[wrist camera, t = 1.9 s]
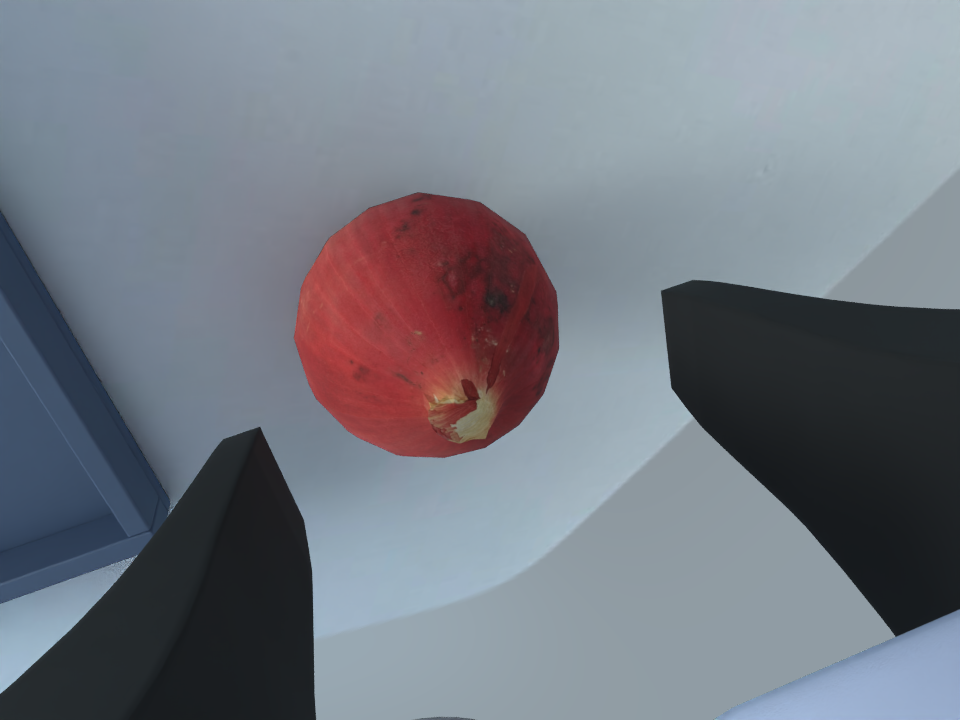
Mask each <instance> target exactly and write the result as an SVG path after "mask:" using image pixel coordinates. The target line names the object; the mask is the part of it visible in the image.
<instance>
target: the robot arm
mask: <svg viewBox="0 0 960 720" xmlns="http://www.w3.org/2000/svg"><path fill="white" fill-rule="evenodd" d="M661 295H662V304H663V314H664V323H665V332H666V342H667V351H668V360H669V369H670V379H671V388H672V389H673V390H674V392H675V393H676V394H677V396H678V397H679V398H680V400H681V401H682V403H683V404H684V405H685V407H686V408H687V409H688V410H689V412H690V413H691V414H692V415H693V417H694V418H695V419H696V420H697V422H698V423H699V424H700V425H701V426H702V428H704V430H705V431H707V432H708V433H709V434H710V435H711V436H712V437H713V438H714V439H715V440H716V441H717V442H718V443H719V444H720V445H721V446H722V447H723V448H724V449H725V450H726V451H728V453H729V454H730V455H731V456H733V457H734V458H735V459H736V460H737V461H738V462H739V463H740V464H741V465H742V466H743V467H744V468H745V469H746V470H748V471H749V472H750V473H751V474H752V475H753V476H754V477H755V478H756V479H757V480H758V481H759V482H760V483H762V485H764V486H765V487H766V488H767V489H768V490H769V491H770V492H771V493H772V494H773V495H774V496H775V497H776V498H778V499H779V500H780V501H781V502H782V503H783V504H784V505H785V506H786V507H787V508H788V509H789V510H790V511H791V512H792V513H793V514H794V515H795V516H796V517H797V518H798V519H799V520H800V521H801V522H802V523H803V524H804V525H805V526H806V527H807V529H808V530H809V531H810V532H811V533H812V534H813V535H814V537H815V538H816V539H817V540H818V541H819V543H820V544H821V545H822V546H823V547H824V548H825V550H826V551H827V552H828V553H829V554H830V555H831V557H832V558H833V559H834V560H835V561H836V562H837V563H838V565H839V566H840V567H841V568H842V569H843V571H844V572H845V573H846V574H847V575H848V577H849V578H850V579H851V580H852V582H853V583H854V584H855V585H856V587H857V588H858V589H859V590H860V592H861V593H862V594H863V595H864V596H865V598H866V599H867V600H868V602H869V603H870V604H871V605H872V606H873V608H874V609H875V610H876V611H877V613H878V614H879V615H880V616H881V618H882V619H883V620H884V622H885V623H886V624H887V626H888V627H889V628H890V629H891V631H892V632H893V633H894V635H895V636H896V637H895V638H892V639H890V640H888V641H885V642H883V643H881V644H879V645H876V646H874V647H871V648H869V649H867V650H865V651H862V652H860V653H858V654H855V655H853V656H851V657H848V658H846V659H844V660H841V661H839V662H837V663H834V664H832V665H830V666H828V667H825V668H823V669H821V670H818V671H816V672H814V673H811V674H809V675H807V676H804V677H802V678H800V679H798V680H795V681H793V682H791V683H788V684H786V685H783V686H781V687H779V688H777V689H774V690H772V691H770V692H767V693H765V694H763V695H761V696H758V697H756V698H753V699H751V700H749V701H746V702H744V703H742V704H740V705H737V706H735V707H733V708H731V709H730V710H728V711H726V712H725V713H723V714H722V715H720V716H718V717H717V718H715V719H714V720H960V310H959V309H931V308H929V309H928V308H911V307H894V306H882V305H871V304H863V303H855V302H846V301H837V300H829V299H823V298H816V297H809V296H802V295H796V294H790V293H784V292H778V291H772V290H766V289H760V288H754V287H748V286H742V285H735V284H729V283H721V282H713V281H702V280H692V281H689V282H686V283H683V284H680V285H677V286H674V287H671V288H668V289H665V290H662V291H661ZM0 720H316V713H315V697H314V636H313V584H312V568H311V561H310V554H309V548H308V542H307V536H306V530H305V524H304V520H303V517H302V515H301V513H300V511H299V509H298V507H297V505H296V503H295V500H294V498H293V496H292V494H291V492H290V490H289V488H288V486H287V483H286V481H285V479H284V477H283V475H282V473H281V471H280V469H279V466H278V464H277V462H276V460H275V458H274V456H273V454H272V452H271V449H270V447H269V445H268V443H267V441H266V439H265V437H264V435H263V432H262V430H261V428H260V427H258V428H255V429H252V430H249V431H246V432H243V433H240V434H237V435H234V436H231V437H229V438H226V439H223V440H222V441H221V442H220V444H219V445H218V446H217V447H216V449H215V450H214V452H213V453H212V454H211V456H210V457H209V459H208V460H207V462H206V463H205V464H204V466H203V467H202V469H201V470H200V472H199V473H198V475H197V476H196V478H195V479H194V481H193V482H192V483H191V485H190V486H189V488H188V489H187V491H186V492H185V493H184V495H183V496H182V498H181V499H180V501H179V502H178V503H177V505H176V506H175V508H174V509H173V510H172V512H171V513H170V515H169V516H168V517H167V519H166V520H165V521H164V523H163V524H162V525H161V527H160V528H159V529H158V530H157V532H156V533H155V534H154V535H153V537H152V538H151V539H150V541H149V542H148V543H147V544H146V546H145V547H144V548H143V550H142V551H141V552H140V553H139V555H138V556H137V557H136V559H135V560H134V561H133V562H132V564H131V565H130V566H129V567H128V568H127V570H126V571H125V572H124V573H123V574H122V575H121V577H120V578H119V579H118V580H117V581H116V582H115V583H114V585H113V586H112V587H111V588H110V589H109V590H108V591H107V592H106V593H105V594H104V596H103V597H102V598H101V599H100V600H99V601H98V602H97V603H96V604H95V605H94V606H93V607H92V608H91V609H90V610H89V611H88V613H87V614H86V615H85V616H84V617H83V618H82V619H81V620H80V621H79V622H78V623H77V624H76V625H75V626H74V627H73V628H72V629H71V630H70V631H69V632H68V633H67V634H66V635H64V636H63V637H62V638H61V639H60V640H59V641H58V642H57V643H56V644H55V645H54V646H53V647H52V648H50V649H49V650H48V651H47V652H46V653H45V654H44V655H43V656H42V657H41V658H40V659H39V660H38V661H36V662H35V663H34V664H33V665H32V666H31V667H30V668H29V669H28V670H27V671H26V672H25V673H24V674H22V675H21V676H20V677H19V678H18V679H17V680H16V681H15V682H14V683H13V684H11V685H10V686H9V687H8V688H7V689H6V690H5V691H3V692H2V693H1V694H0Z"/></svg>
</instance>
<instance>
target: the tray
mask: <svg viewBox="0 0 960 720" xmlns="http://www.w3.org/2000/svg"><path fill="white" fill-rule="evenodd" d="M169 507H170V500H169V499H168V497H167V495H166V493H165V492H164V490H163V488H162V487H161V485H160V483H159V482H158V480H157V478H156V476H155V475H154V473H153V471H152V470H151V468H150V466H149V464H148V463H147V461H146V459H145V458H144V456H143V454H142V452H141V451H140V449H139V447H138V446H137V444H136V442H135V441H134V439H133V437H132V435H131V434H130V432H129V430H128V429H127V427H126V425H125V423H124V422H123V420H122V418H121V417H120V415H119V413H118V412H117V410H116V408H115V406H114V405H113V403H112V401H111V400H110V398H109V396H108V394H107V393H106V391H105V389H104V388H103V386H102V384H101V382H100V381H99V379H98V377H97V376H96V374H95V372H94V371H93V369H92V367H91V365H90V364H89V362H88V360H87V359H86V357H85V355H84V353H83V352H82V350H81V348H80V347H79V345H78V343H77V342H76V340H75V338H74V336H73V335H72V333H71V331H70V330H69V328H68V326H67V324H66V323H65V321H64V319H63V318H62V316H61V314H60V312H59V311H58V309H57V307H56V306H55V304H54V302H53V301H52V299H51V297H50V295H49V294H48V292H47V290H46V289H45V287H44V285H43V283H42V282H41V280H40V278H39V277H38V275H37V273H36V272H35V270H34V268H33V266H32V265H31V263H30V261H29V260H28V258H27V256H26V254H25V253H24V251H23V249H22V248H21V246H20V244H19V242H18V241H17V239H16V237H15V236H14V234H13V232H12V231H11V229H10V227H9V225H8V224H7V222H6V220H5V219H4V217H3V215H2V213H1V212H0V604H1V603H4V602H7V601H9V600H12V599H15V598H18V597H21V596H23V595H26V594H29V593H32V592H35V591H37V590H40V589H43V588H46V587H49V586H51V585H54V584H57V583H60V582H63V581H66V580H68V579H71V578H74V577H77V576H80V575H82V574H85V573H88V572H91V571H94V570H96V569H99V568H102V567H105V566H108V565H111V564H113V563H116V562H119V561H122V560H125V559H127V558H130V557H133V556H136V555H139V553H140V552H141V551H142V550H143V548H144V547H145V546H146V544H147V543H148V542H149V541H150V539H151V538H152V537H153V535H154V534H155V533H156V532H157V530H158V529H159V528H160V527H161V525H162V524H163V523H164V521H165V520H166V519H167V515H168V511H169Z"/></svg>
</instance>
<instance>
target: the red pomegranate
mask: <svg viewBox="0 0 960 720" xmlns="http://www.w3.org/2000/svg"><path fill="white" fill-rule="evenodd" d="M294 340H295V343H296V346H297V349H298V352H299V355H300V359H301V362H302V365H303V368H304V371H305V374H306V377H307V380H308V383H309V386H310V388H311V390H312V392H313V394H314V396H315V398H316V399H317V400H318V401H319V402H320V403H321V404H322V405H323V406H324V407H325V408H326V409H327V410H328V411H329V412H330V413H331V414H332V415H333V416H334V417H335V418H336V419H337V420H338V421H339V422H340V423H341V424H342V425H343V426H344V428H345V429H346V430H347V431H349V432H350V433H352V434H353V435H355V436H356V437H358V438H360V439H362V440H364V441H367V442H369V443H371V444H373V445H376V446H378V447H380V448H382V449H384V450H387V451H389V452H391V453H393V454H396V455H400V456H413V457H439V458H445V457H449V456H453V455H457V454H462V453H466V452H470V451H474V450H478V449H482V448H485V447H487V446H488V445H490V444H491V443H493V442H494V441H496V440H497V439H499V438H501V437H502V436H504V435H505V434H507V433H508V432H510V431H511V430H513V429H514V428H516V427H517V426H518V425H520V423H521V422H522V421H523V420H524V418H525V417H526V416H527V414H528V413H529V412H530V411H531V409H532V408H533V407H534V406H535V404H536V403H537V402H538V401H539V399H540V398H541V397H542V396H543V394H544V391H545V389H546V386H547V383H548V380H549V377H550V374H551V371H552V368H553V365H554V362H555V359H556V356H557V353H558V350H559V329H558V303H557V294H556V290H555V288H554V287H553V285H552V283H551V281H550V279H549V277H548V275H547V273H546V272H545V270H544V268H543V266H542V264H541V262H540V260H539V258H538V257H537V255H536V253H535V251H534V249H533V247H532V245H531V244H530V242H529V240H528V238H527V236H526V235H525V234H524V233H523V232H521V231H520V230H519V229H517V228H516V227H514V226H513V225H511V224H510V223H509V222H507V221H506V220H504V219H503V218H502V217H500V216H499V215H497V214H496V213H495V212H493V211H492V210H490V209H489V208H488V207H486V206H485V205H483V204H482V203H480V202H477V201H473V200H468V199H461V198H454V197H447V196H440V195H433V194H426V193H419V192H417V193H414V194H411V195H408V196H405V197H402V198H399V199H396V200H393V201H389V202H386V203H383V204H380V205H377V206H374V207H371V208H369V209H367V210H366V211H365V212H363V213H362V214H361V215H359V216H358V217H357V218H355V219H354V220H353V221H351V222H350V223H349V224H347V225H346V226H345V227H343V228H342V229H341V230H339V231H338V232H337V233H335V234H334V235H333V236H331V237H330V238H329V239H328V241H327V242H326V244H325V245H324V247H323V249H322V251H321V253H320V254H319V256H318V258H317V259H316V261H315V263H314V264H313V266H312V268H311V269H310V271H309V272H308V274H307V276H306V277H305V280H304V282H303V284H302V287H301V291H300V298H299V306H298V313H297V320H296V327H295V335H294Z"/></svg>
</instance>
